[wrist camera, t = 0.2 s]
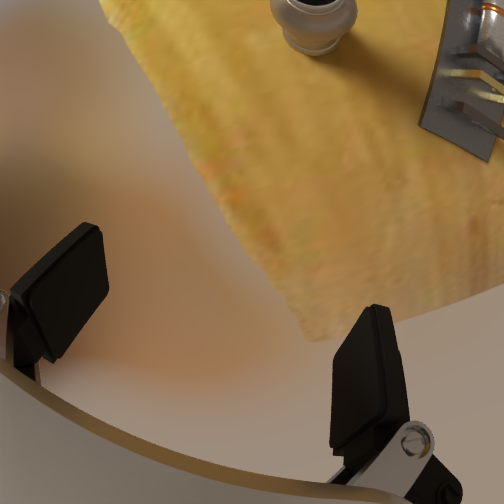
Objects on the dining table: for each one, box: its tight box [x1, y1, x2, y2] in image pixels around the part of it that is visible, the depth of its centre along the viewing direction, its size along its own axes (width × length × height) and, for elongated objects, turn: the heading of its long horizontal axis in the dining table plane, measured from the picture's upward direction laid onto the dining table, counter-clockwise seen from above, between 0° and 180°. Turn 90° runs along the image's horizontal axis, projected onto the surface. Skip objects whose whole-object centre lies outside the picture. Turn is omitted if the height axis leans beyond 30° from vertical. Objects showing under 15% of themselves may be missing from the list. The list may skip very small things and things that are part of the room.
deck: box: [418, 0, 504, 162], centre depth 21 cm, size 31×12×1 cm, turn 169°
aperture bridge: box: [451, 69, 504, 106], centre depth 21 cm, size 1×8×8 cm, turn 79°
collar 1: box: [455, 44, 504, 83], centre depth 20 cm, size 1×8×6 cm, turn 78°
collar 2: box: [442, 98, 504, 140], centre depth 24 cm, size 1×8×6 cm, turn 79°
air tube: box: [477, 0, 504, 62], centre depth 15 cm, size 16×4×4 cm, turn 169°
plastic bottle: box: [270, 0, 358, 56], centre depth 19 cm, size 6×7×20 cm
